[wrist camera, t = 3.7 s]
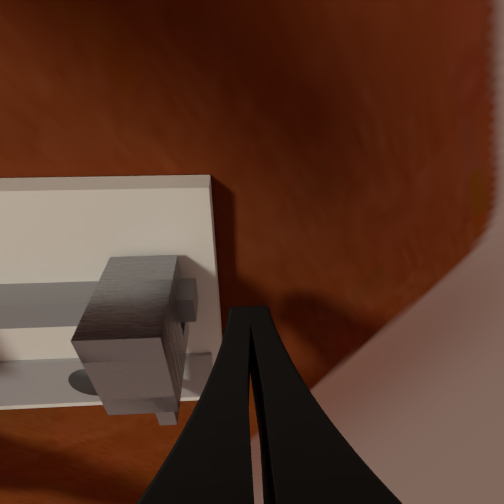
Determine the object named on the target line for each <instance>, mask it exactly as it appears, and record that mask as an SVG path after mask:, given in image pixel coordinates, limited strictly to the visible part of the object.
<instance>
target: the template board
mask: <svg viewBox="0 0 504 504" xmlns="http://www.w3.org/2000/svg"><path fill="white" fill-rule="evenodd" d="M162 255H178V261H179V268H180V274H181V278H180V283H179V289H178V295H177V300H176V301H177V306H178V311H179V317H180V322H188V323H189V334H188V343H187V351H186V359H185V367H184V375H183V383H182V391H181V399H180V401H191V400H199V398H200V396H201V394H202V392H203V390H204V387H205V385H206V383H207V380H208V378H209V375H210V373H211V371H212V368H213V366H214V363H215V360H216V358H217V355H218V352H219V349H220V346H221V343H222V340H223V339H222V326H221V312H220V299H219V285H218V272H217V258H216V244H215V231H214V217H213V204H212V190H211V177H210V175H171V176H108V177H45V178H0V410H2V409H23V408H44V407H65V406H86V405H103V404H102V402H101V400H100V398H99V396H98V394H97V392H96V390H95V388H94V386H93V384H92V382H91V380H90V378H89V376H88V374H87V372H86V370H85V368H84V367H83V365H82V363H81V361H80V359H79V357H78V355H77V353H76V351H75V349H74V347H73V345H72V343H71V339H72V337H73V335H74V333H75V331H76V328H77V326H78V324H79V322H80V320H81V318H82V316H83V313H84V311H85V309H86V307H87V305H88V303H89V301H90V299H91V296H92V294H93V292H94V290H95V288H96V286H97V284H98V281H99V279H100V277H101V275H102V273H103V271H104V269H105V267H106V264H107V262H108V260H109V258H110V257H126V256H162Z"/></svg>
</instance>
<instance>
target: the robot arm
mask: <svg viewBox="0 0 504 504" xmlns="http://www.w3.org/2000/svg"><path fill="white" fill-rule="evenodd" d="M250 374H251V381H252V388H253V395H254V402H255V409H256V416H257V423H258V430H259V438H260V449H261V464H262V482H263V498H264V504H402V503H401V502H400V500H399V499H398V498H397V497H396V496H395V495H394V494H393V493H392V492H391V491H390V490H389V489H388V488H387V487H386V486H385V485H384V484H383V482H381V480H380V479H379V478H378V477H377V476H376V475H375V474H374V473H373V472H372V470H371V469H370V468H369V467H368V466H367V465H366V464H365V462H364V461H363V460H362V459H361V458H360V457H359V456H358V454H357V453H356V452H355V451H354V450H353V448H352V447H351V446H350V445H349V443H348V442H347V441H346V440H345V438H344V437H343V436H342V435H341V433H340V432H339V431H338V430H337V428H336V427H335V426H334V425H333V423H332V422H331V421H330V419H329V418H328V417H327V415H326V414H325V413H324V411H323V410H322V408H321V407H320V405H319V404H318V402H317V401H316V399H315V398H314V397H313V395H312V394H311V392H310V390H309V389H308V387H307V386H306V384H305V383H304V381H303V379H302V378H301V376H300V374H299V373H298V371H297V369H296V367H295V366H294V364H293V362H292V360H291V358H290V356H289V354H288V353H287V351H286V349H285V347H284V345H283V343H282V341H281V339H280V336H279V334H278V332H277V329H276V327H275V325H274V322H273V319H272V317H271V314H270V310H269V308H268V307H267V306H245V307H231V308H230V309H229V311H228V319H227V324H226V329H225V332H224V336H223V340H222V343H221V346H220V349H219V352H218V355H217V358H216V360H215V363H214V366H213V368H212V371H211V373H210V375H209V378H208V380H207V383H206V385H205V387H204V390H203V392H202V394H201V396H200V398H199V400H198V402H197V404H196V406H195V408H194V410H193V412H192V414H191V416H190V418H189V420H188V422H187V424H186V425H185V427H184V429H183V431H182V433H181V435H180V436H179V438H178V440H177V442H176V443H175V445H174V447H173V448H172V450H171V452H170V453H169V455H168V457H167V458H166V460H165V461H164V463H163V465H162V466H161V468H160V469H159V471H158V473H157V474H156V476H155V477H154V479H153V480H152V482H151V484H150V485H149V486H148V488H147V489H146V491H145V492H144V494H143V495H142V497H141V498H140V499H139V501H138V502H137V504H254V493H253V478H252V461H251V444H250V426H249V384H250Z"/></svg>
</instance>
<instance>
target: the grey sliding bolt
mask: <svg viewBox="0 0 504 504" xmlns="http://www.w3.org/2000/svg"><path fill="white" fill-rule="evenodd" d="M180 278H181V274H180V268H179V261H178V255H162V256H126V257H110V258H109V260H108V262H107V264H106V267H105V269H104V271H103V273H102V275H101V277H100V279H99V281H98V284H97V286H96V288H95V290H94V292H93V294H92V296H91V299H90V301H89V303H88V305H87V307H86V309H85V311H84V313H83V316H82V318H81V320H80V322H79V324H78V326H77V328H76V331H75V333H74V335H73V337H72V339H71V343H72V345H73V347H74V349H75V351H76V353H77V355H78V357H79V359H80V361H81V363H82V365H83V367H84V368H85V370H86V372H87V374H88V376H89V378H90V380H91V382H92V384H93V386H94V388H95V390H96V392H97V394H98V396H99V398H100V400H101V402H102V404H103V406H104V408H105V410H106V412H107V414H108V415H122V414H142V413H156V416H157V419H158V422H159V425H176V424H177V422H178V414H179V407H180V399H181V391H182V383H183V375H184V367H185V359H186V351H187V343H188V334H189V323H188V322H180V317H179V311H178V306H177V301H176V300H177V295H178V289H179V283H180Z"/></svg>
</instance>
